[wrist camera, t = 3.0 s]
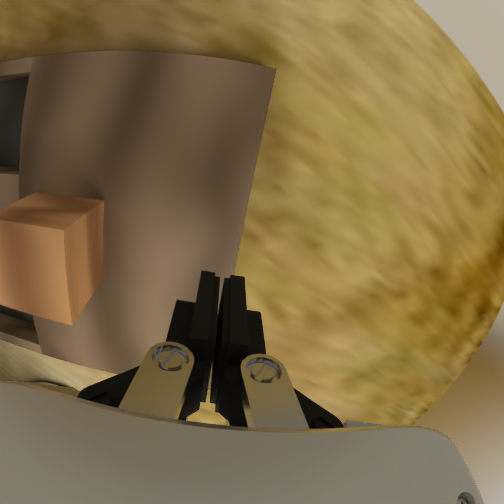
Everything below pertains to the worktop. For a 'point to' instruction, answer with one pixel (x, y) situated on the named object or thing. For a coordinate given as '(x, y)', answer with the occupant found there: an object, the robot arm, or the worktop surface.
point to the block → (51, 254)
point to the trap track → (133, 182)
